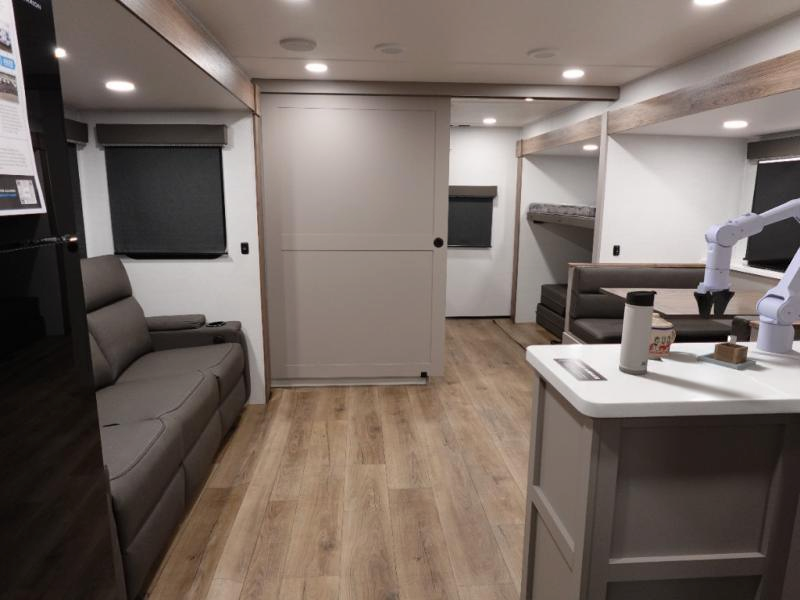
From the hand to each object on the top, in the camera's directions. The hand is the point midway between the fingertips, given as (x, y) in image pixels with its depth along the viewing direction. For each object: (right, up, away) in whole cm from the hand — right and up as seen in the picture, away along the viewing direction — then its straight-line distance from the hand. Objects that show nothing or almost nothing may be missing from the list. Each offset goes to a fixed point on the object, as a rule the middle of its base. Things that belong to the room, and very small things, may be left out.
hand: (711, 317), depth 150 cm
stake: (+2, -11, -5) cm, 12 cm away
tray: (-3, -12, -12) cm, 17 cm away
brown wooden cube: (-3, -12, -13) cm, 17 cm away
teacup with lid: (-17, -10, -3) cm, 20 cm away
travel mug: (-30, -13, -19) cm, 37 cm away
